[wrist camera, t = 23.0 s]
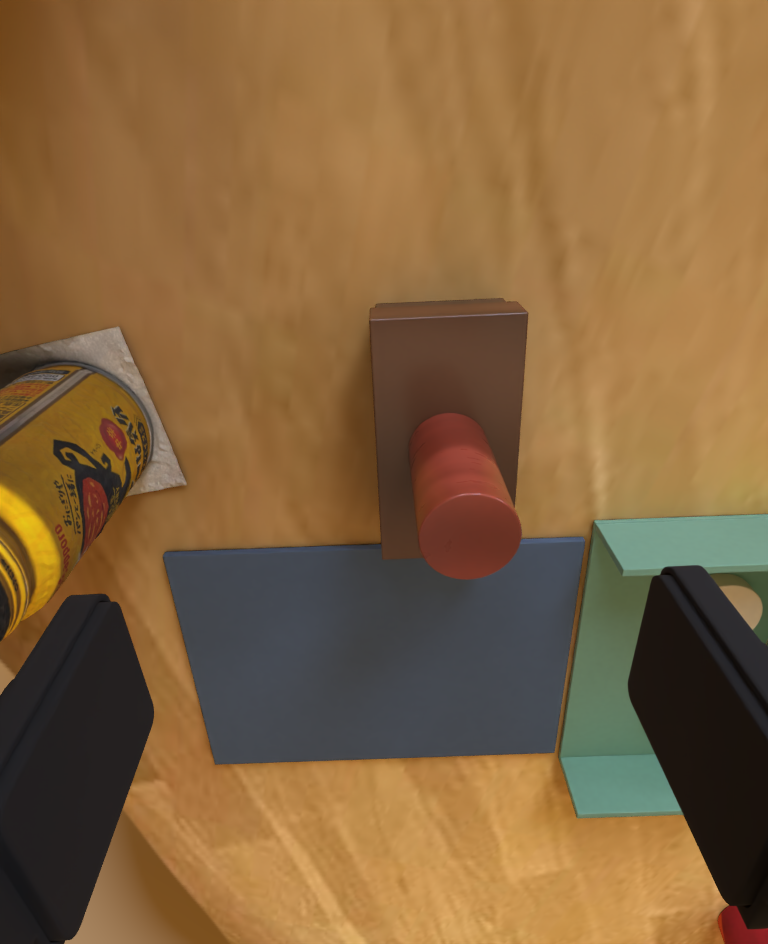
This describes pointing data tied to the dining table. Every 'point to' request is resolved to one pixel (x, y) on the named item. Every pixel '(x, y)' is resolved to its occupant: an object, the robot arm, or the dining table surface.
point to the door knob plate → (449, 431)
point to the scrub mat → (375, 651)
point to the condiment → (69, 459)
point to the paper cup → (739, 929)
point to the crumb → (740, 597)
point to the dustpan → (613, 645)
